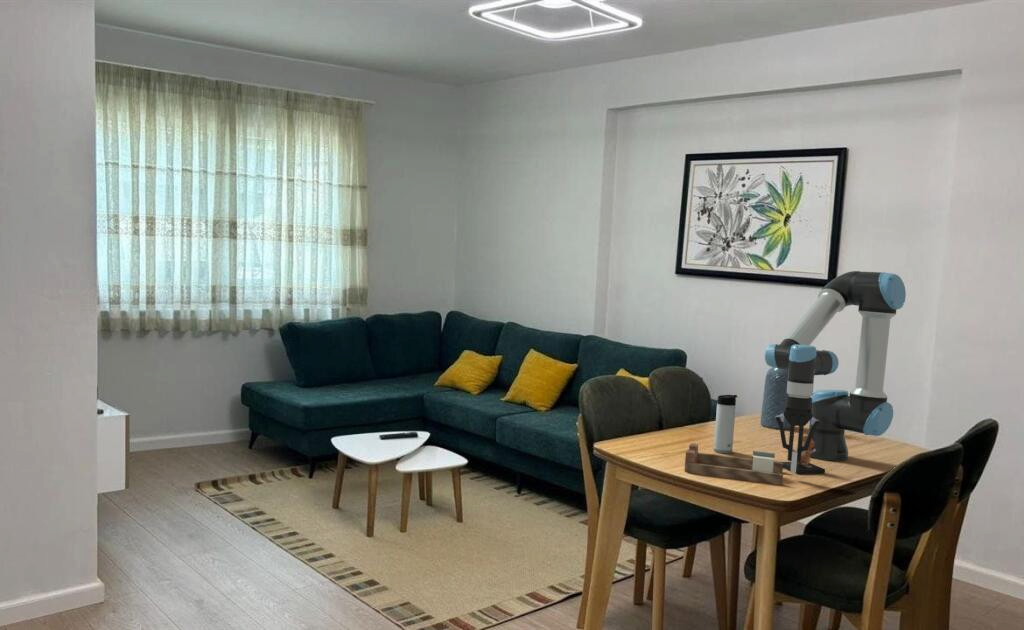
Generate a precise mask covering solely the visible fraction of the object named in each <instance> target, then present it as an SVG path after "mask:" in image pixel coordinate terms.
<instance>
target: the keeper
mask: <svg viewBox="0 0 1024 630" xmlns="http://www.w3.org/2000/svg"><path fill="white" fill-rule="evenodd" d="M752 451H753V452H752V457H753V458H752V459H753V467H752V469H751V470H754V471H762V472H770V473H774V472H773V462H775V461H774V459H775V455H776V453H775V452H767V451H760V450H759V451H758V450H752Z"/></svg>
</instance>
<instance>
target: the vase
mask: <svg viewBox="0 0 1024 630" xmlns="http://www.w3.org/2000/svg"><path fill="white" fill-rule="evenodd" d="M788 372H789V370H786V369H778V368H774V367H770V368H769V369H768V371H767V373H766V375H765V380H764V387H763V395H762V397H763V398H762V405H761V412H760V413H761V415H760V422H759V423H760V426H762V427H764V426H765V427H764V428H767V427H768V428H769V429H772V428H774V430H780V428H779V424H778V422H777V420H776V416H777V415H778V416H779V415H781V414H783V412H784V410H785V407H786V396H787V395H789V394H787V382H788ZM783 426H784V430H790V429H789V428H790V424H789V423H788V421H787V420H786V418H785V417H784V421H783Z"/></svg>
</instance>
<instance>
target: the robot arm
mask: <svg viewBox="0 0 1024 630" xmlns="http://www.w3.org/2000/svg"><path fill="white" fill-rule="evenodd" d="M906 295H907V293H906V286H905V283H904V282H903V279H902V278H901V276H899V275H898V274H896V273H892V272H891V273H890V272H886V271H884V272H879V271H859V270H852V271H847V272H844V273H843V274H840V275H838V276H836V277H835V278H833V279H832V280H831V281H829V282H828V283H827V284H826V285H824V287H823V288H821V290H820V291H819V293H818V295H817V300H816V301H815V302H814V303H813V304H812V306H810V308H809V309H808V310H807V311H806V313H804V315H803V316H802V317H801V319H800V320H798V322H797V324H795V325H794V327H793V328H792V329H791V330H790V332H789V333H788V334H787V335H786V336H785V337H784V338H783V340H782V341H781V342H780V344H777V343H775V344H773V343H772V344H770V345H768V346H767V347H766V349H765V352H764V361H765V363H766V364H767V366H769V367H770V368H772V367H774V368H778V369H786V370H789V372H788V382H787V394H789V395H787V396H786V407H785V410H784V412H783V414H781V415H779V416H778V415H777V416H776V420H777V422H778V424H779V428H780V429H779V432H780V433H779V435H780V440H781V445H782V448H783V449H786V450H787V462H791V471H790V473H792V474H795V473H796V464H797V462H800V461H801V453H802V451H807V450H808V448H809V445H810V442H811V439H813V441H814V445H815V447H814V448H812V450H813V449H815V450H816V451H815V452H813V453H811V454H810V458H812V459H818V460H822V461H823V460H825V461H833V462H834V461H837V462H838V461H839V462H840V461H841V462H842V461H846V460H848V459H849V449H848V446H847V441H846V437H845V434H846V433H845V431H848V432H854V433H859V434H864V435H866V436H874V437H879V436H882V435H884V434H885V433H887V431H888V429H889V428H890V426H891V424H892V422H893V418H894V409H893V405H892V404H891V403H890V402H888V395H887V394H886V393H885V392H884V385H885V376H886V375H885V374H886V366H887V365H886V364H887V355H888V347H889V336H890V327H891V320H892V318H894V317H895V316H896V315H897V310H900V309H901V308H903V306H904V304H905V303H906ZM849 306H857V307H858V308H857V309H858V310H857V311H858V313H859V314H860V315H861V317H862V319H861V327H860V328H861V329H860V338H859V339H860V340H859V348H858V359H857V366H856V367H857V368H856V369H857V370H856V377H855V387H854V388H853V389H851V391H849V392H848V391H847V390H843V389H822V390H821V389H820V390H818V389H817V390H814V383H815V382H814V381H815V376H827V375H830V374H833V373H835V372H836V371H837V369H838V367H839V358H838V356H837V354H835V353H834V352H833V351H831V350H825V349H822V350H817V348H816V347H815V346H814V345H811V344H812V343H813V342H814V341H815V340H816V339H817V337H818V336H819V335H820V334H821V332H822V331H823V330H824V329H825V327H826V326H827V325H828V324H829V323H830V322H831V320H832V319H833V318H834V317H835V315H836V314H837V313H839V312H842V311H844V310H845V308H846V307H849ZM784 417H785V418H786V420H787V421H788V423H789V424H790V429H789V435H788V443H787V439H786V433H785V429H784V426H783V421H784ZM808 423H809V428H808V433H807V435H808V436H807V439H806V442H805V445H804V446H802V440H803V433H804V427H805V426H806V425H807V424H808ZM796 426H798V436H797V446H796V447H797V448H796V449H793V448H794V439H795V438H794V437H795V427H796Z"/></svg>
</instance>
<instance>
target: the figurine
mask: <svg viewBox="0 0 1024 630" xmlns="http://www.w3.org/2000/svg"><path fill="white" fill-rule="evenodd" d="M807 436H808V434H805V433H804V432H803V440H802V446H804V445H805V442H806V439H807ZM814 447H815V445H814V441H813V439H811V442H810V445H809V448H808V450H807V451H802V453H801V461H800V462H797V464H796V473H794V474H796V475H824V474H826V469H825V468H823V467H820V466H819V465H816V464H813V463H811V457H810V454H811V453H813V452H815V451H816V450H815V449H813V450H812V448H814ZM780 462H781V463H783V470H786V471H788V472H791V461H780Z"/></svg>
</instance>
